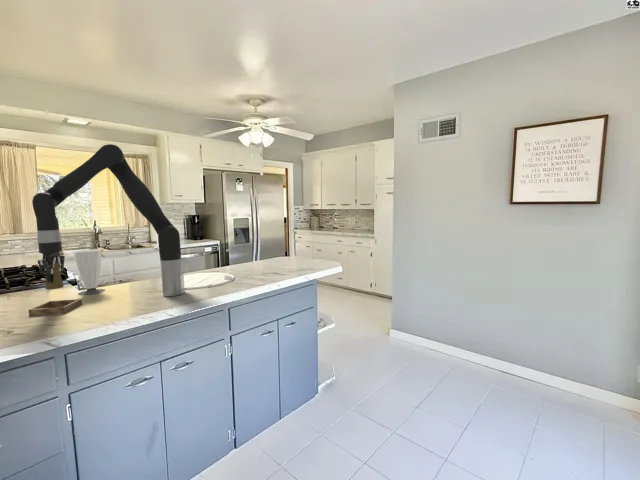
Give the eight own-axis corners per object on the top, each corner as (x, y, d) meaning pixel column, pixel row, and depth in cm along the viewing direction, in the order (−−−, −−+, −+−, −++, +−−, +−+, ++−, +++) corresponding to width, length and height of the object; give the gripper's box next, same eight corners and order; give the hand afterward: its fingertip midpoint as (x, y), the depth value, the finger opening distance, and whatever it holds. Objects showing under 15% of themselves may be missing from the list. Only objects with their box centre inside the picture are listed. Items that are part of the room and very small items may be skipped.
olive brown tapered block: (61, 285, 142) (59, 260, 141) (65, 287, 138) (62, 261, 137) (43, 288, 138) (41, 262, 136) (47, 290, 134) (44, 263, 133)
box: (82, 304, 146) (82, 298, 146) (64, 313, 134) (64, 307, 133) (50, 306, 144) (49, 300, 144) (29, 315, 131) (28, 309, 131)
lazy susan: (244, 274, 205) (244, 268, 205) (219, 290, 167) (219, 283, 166) (184, 274, 209) (183, 269, 209) (146, 290, 171) (145, 283, 170)
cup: (91, 295, 161) (86, 252, 159) (72, 294, 164) (67, 252, 162) (110, 289, 173) (106, 249, 170) (92, 289, 175) (88, 249, 173)
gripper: (48, 242, 130) (53, 284, 131) (69, 239, 144) (73, 277, 145) (27, 243, 128) (32, 286, 130) (50, 239, 142) (55, 278, 144)
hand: (54, 281), depth 138 cm, fingers closed on olive brown tapered block, 4 cm apart
